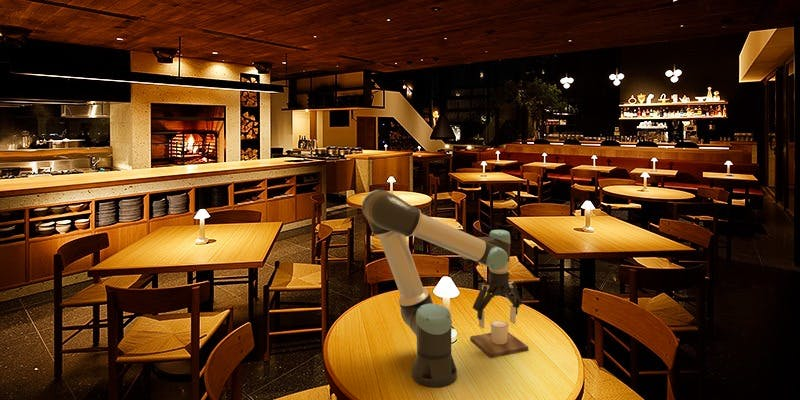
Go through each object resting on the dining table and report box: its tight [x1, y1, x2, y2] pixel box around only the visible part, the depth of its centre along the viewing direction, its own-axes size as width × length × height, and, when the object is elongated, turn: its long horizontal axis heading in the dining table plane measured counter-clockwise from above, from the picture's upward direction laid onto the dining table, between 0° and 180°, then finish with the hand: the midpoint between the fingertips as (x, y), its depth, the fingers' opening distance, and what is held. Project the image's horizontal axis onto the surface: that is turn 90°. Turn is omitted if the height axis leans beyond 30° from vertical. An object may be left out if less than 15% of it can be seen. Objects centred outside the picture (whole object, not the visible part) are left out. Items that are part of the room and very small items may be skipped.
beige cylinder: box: [489, 320, 509, 344], centre depth 180 cm, size 7×7×7 cm
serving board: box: [469, 331, 529, 359], centre depth 180 cm, size 16×16×2 cm
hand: (497, 324), depth 179 cm, fingers open, 13 cm apart
